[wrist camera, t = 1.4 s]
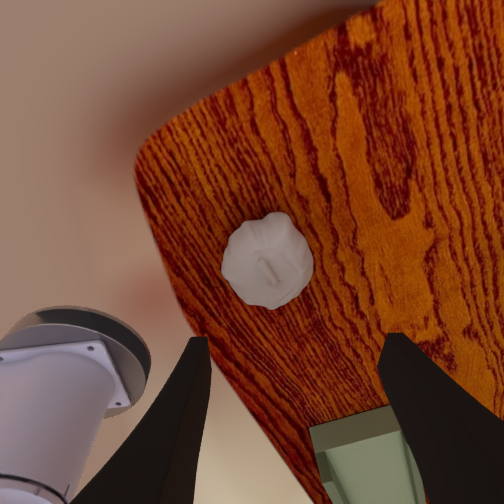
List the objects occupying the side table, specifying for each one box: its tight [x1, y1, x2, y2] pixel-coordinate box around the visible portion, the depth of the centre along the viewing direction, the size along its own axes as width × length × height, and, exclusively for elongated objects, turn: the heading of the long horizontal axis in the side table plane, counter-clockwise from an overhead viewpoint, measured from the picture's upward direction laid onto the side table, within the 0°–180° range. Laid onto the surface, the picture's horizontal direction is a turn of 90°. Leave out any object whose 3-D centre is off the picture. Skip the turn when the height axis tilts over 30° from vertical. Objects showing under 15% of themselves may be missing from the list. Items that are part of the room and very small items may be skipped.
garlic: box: [221, 212, 313, 310], centre depth 17 cm, size 6×5×5 cm
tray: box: [309, 405, 426, 504], centre depth 34 cm, size 28×9×5 cm, turn 21°
